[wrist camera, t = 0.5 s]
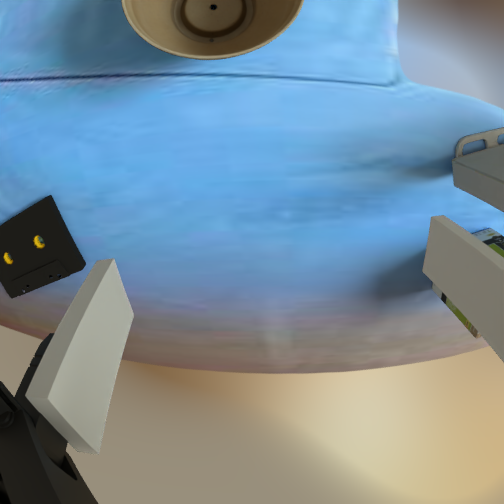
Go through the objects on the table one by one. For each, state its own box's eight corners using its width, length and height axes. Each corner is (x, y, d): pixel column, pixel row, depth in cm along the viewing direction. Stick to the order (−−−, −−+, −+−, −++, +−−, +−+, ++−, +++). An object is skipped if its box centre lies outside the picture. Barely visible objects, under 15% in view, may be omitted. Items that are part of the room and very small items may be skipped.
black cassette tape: (16, 292, 41) (10, 299, 39) (-16, 236, 36) (-23, 242, 34) (88, 262, 41) (83, 270, 39) (53, 193, 35) (45, 198, 33)
